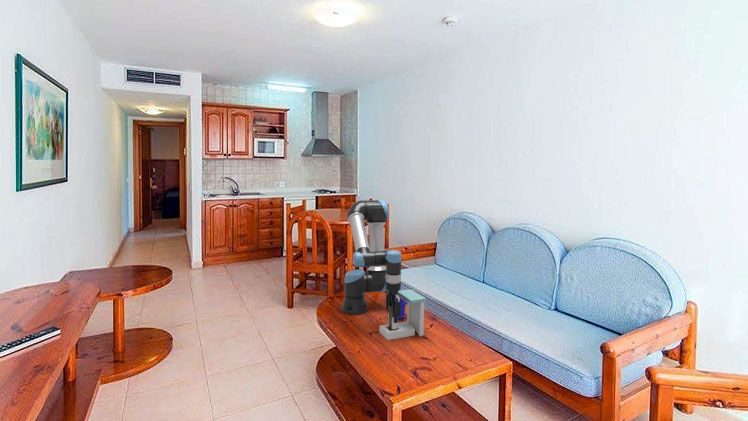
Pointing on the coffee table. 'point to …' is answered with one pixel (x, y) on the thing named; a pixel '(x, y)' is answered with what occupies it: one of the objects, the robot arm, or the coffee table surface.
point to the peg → (390, 317)
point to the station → (408, 317)
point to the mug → (402, 309)
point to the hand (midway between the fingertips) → (392, 326)
